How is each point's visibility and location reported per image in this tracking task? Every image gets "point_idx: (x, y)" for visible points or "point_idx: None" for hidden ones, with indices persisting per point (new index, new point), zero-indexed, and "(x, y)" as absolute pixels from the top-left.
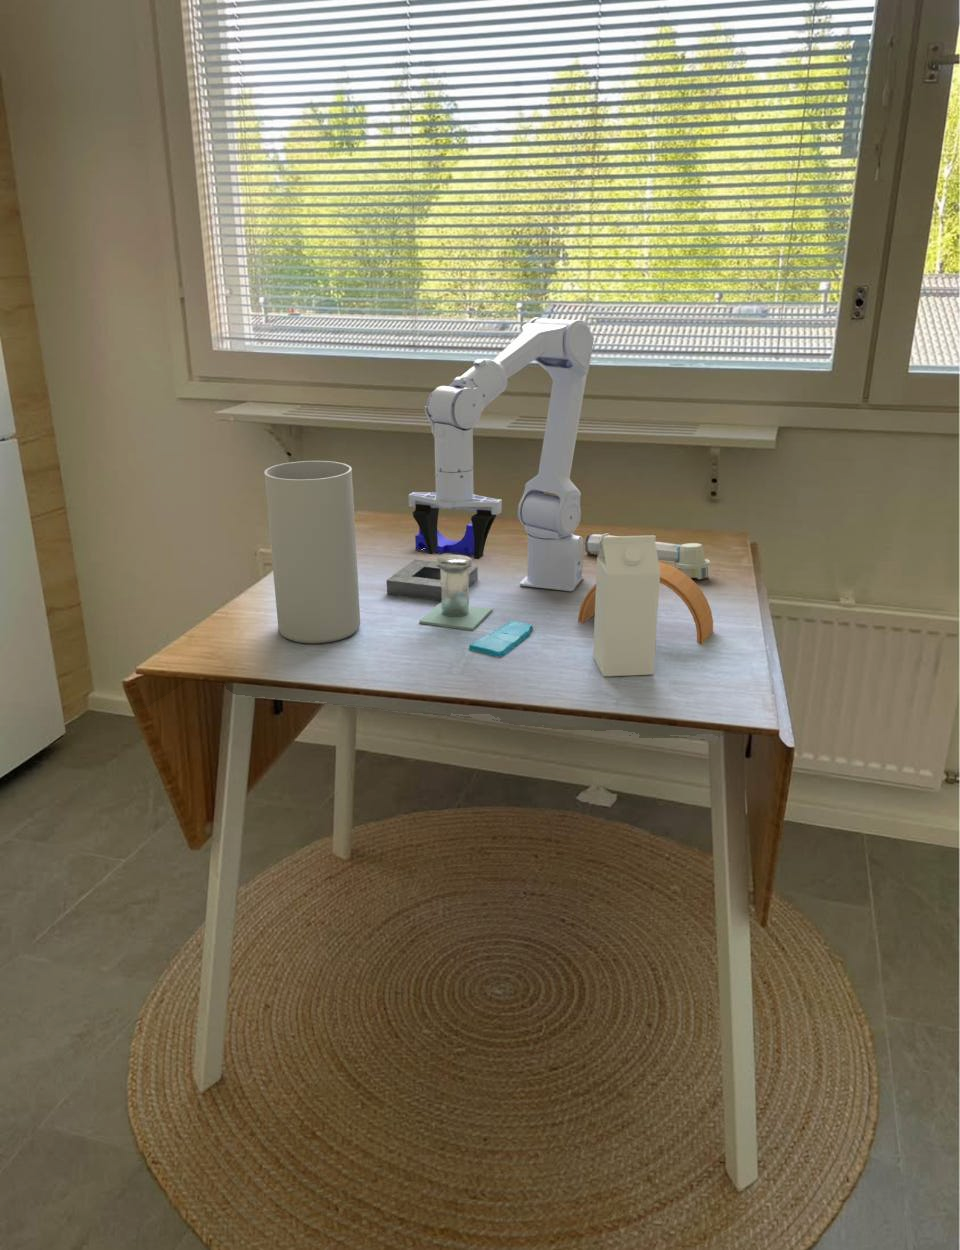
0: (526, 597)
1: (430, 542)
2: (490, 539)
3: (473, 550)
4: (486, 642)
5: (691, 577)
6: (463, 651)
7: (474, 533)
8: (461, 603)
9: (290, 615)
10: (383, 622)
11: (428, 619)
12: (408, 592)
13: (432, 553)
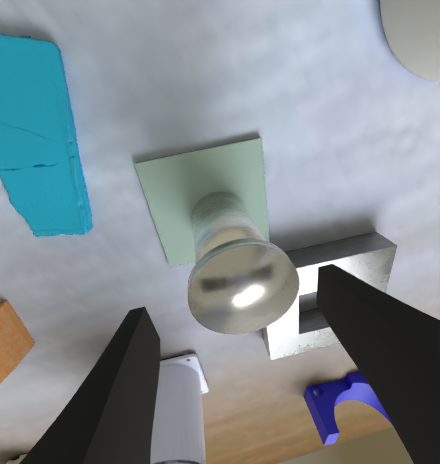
0: (159, 329)
1: (354, 295)
2: (308, 420)
3: (310, 394)
4: (31, 89)
5: (16, 460)
6: (55, 17)
7: (87, 438)
8: (196, 218)
9: None
10: (335, 99)
11: (248, 156)
12: (340, 245)
13: (319, 270)
